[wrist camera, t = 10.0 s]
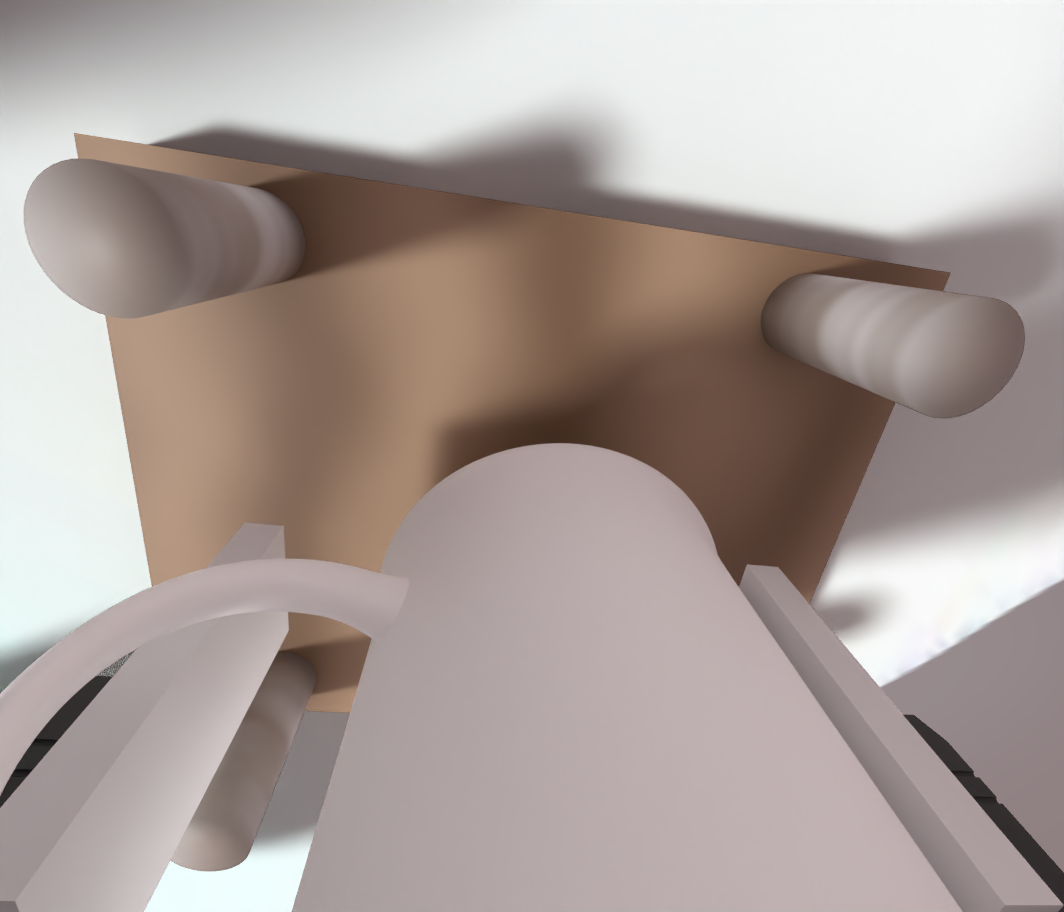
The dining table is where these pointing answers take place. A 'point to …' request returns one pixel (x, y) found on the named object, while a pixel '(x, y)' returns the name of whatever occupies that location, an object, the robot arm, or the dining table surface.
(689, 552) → the mug
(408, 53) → the dining table surface
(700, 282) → the peg board
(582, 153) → the dining table surface
